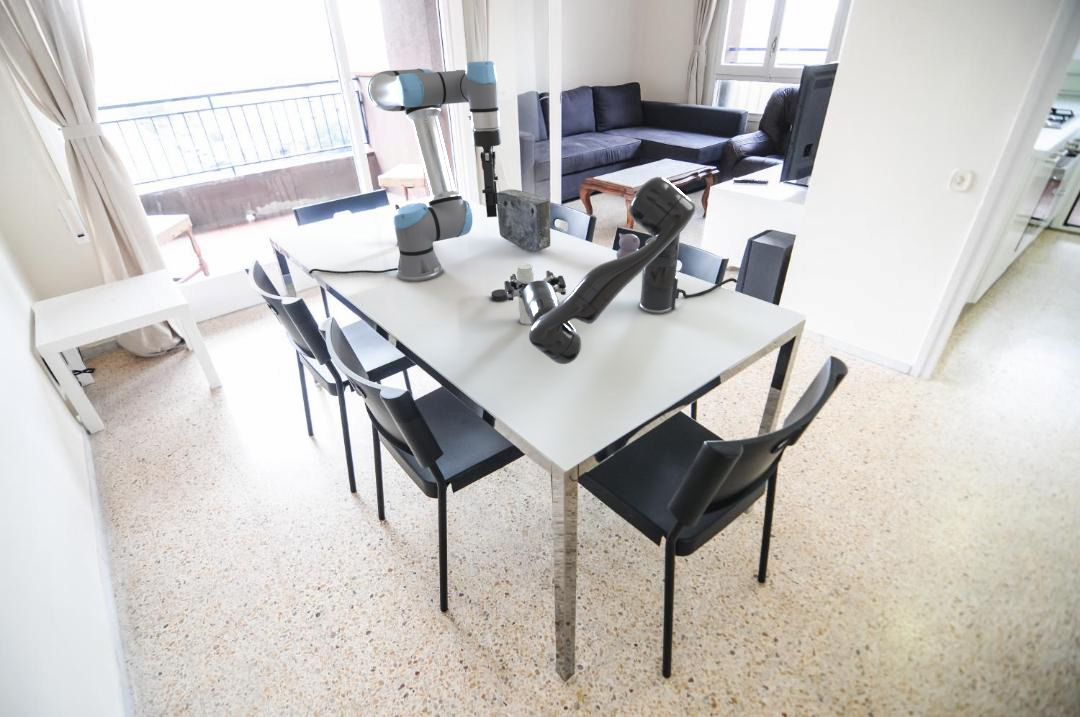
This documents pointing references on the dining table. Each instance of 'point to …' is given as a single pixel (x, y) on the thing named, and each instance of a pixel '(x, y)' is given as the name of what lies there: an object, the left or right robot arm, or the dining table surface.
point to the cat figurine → (627, 244)
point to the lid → (499, 295)
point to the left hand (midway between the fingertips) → (492, 210)
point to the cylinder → (526, 275)
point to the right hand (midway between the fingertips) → (530, 275)
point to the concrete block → (524, 219)
